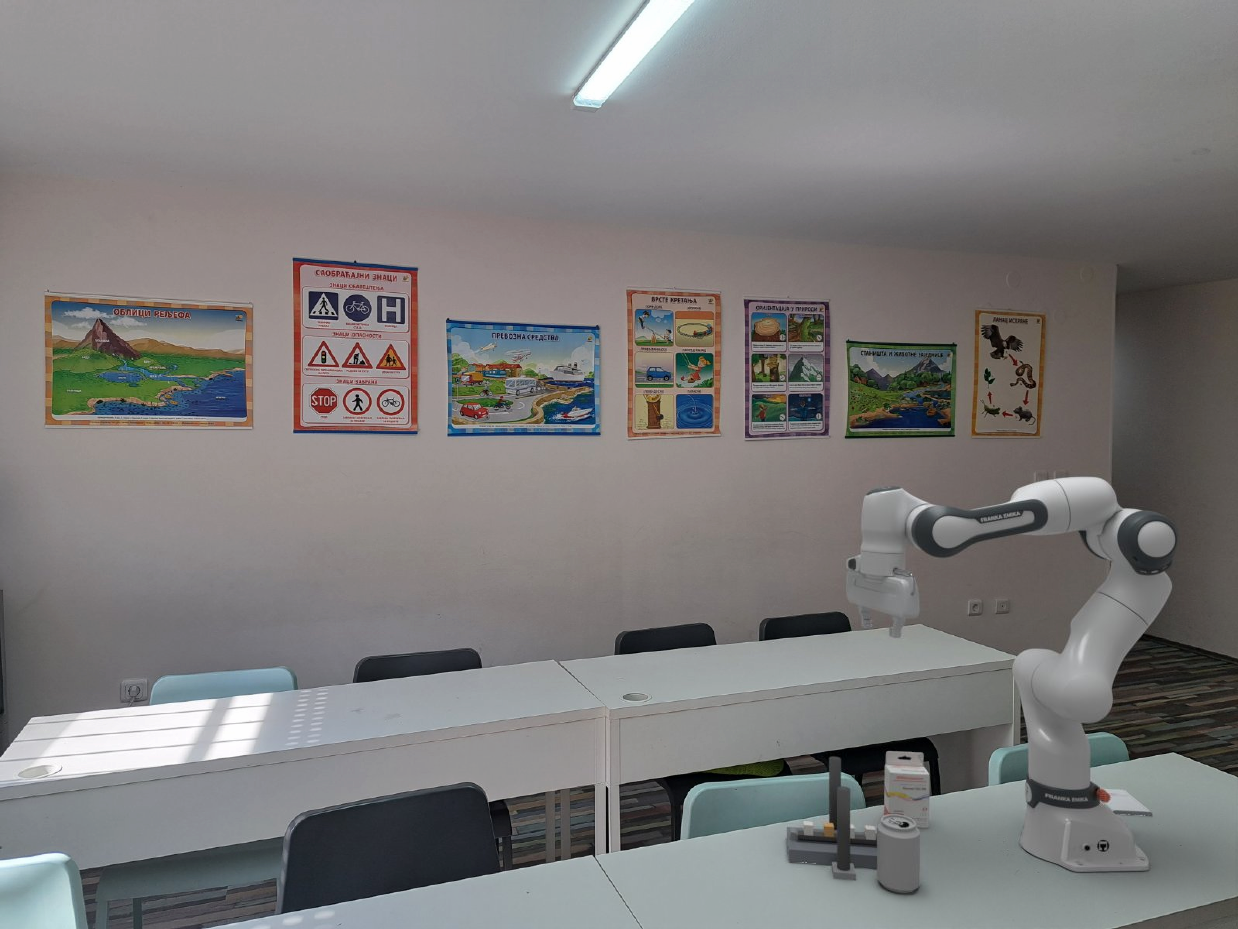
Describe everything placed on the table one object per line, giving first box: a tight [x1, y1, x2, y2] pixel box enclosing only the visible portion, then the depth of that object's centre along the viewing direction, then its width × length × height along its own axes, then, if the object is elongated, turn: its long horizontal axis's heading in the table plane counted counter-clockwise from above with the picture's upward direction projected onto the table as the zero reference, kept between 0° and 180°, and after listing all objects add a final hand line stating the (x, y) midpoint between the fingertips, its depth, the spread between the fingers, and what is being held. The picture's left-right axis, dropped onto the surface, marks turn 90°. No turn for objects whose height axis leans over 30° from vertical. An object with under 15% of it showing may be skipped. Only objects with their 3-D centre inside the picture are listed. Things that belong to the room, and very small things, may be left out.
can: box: [876, 814, 921, 894], centre depth 151 cm, size 8×8×12 cm
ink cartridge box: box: [883, 750, 931, 829], centre depth 177 cm, size 9×5×15 cm, turn 84°
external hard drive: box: [1100, 788, 1153, 817], centre depth 187 cm, size 2×8×12 cm
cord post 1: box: [828, 756, 842, 830], centre depth 171 cm, size 4×4×16 cm
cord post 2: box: [831, 785, 857, 881], centre depth 155 cm, size 4×4×16 cm
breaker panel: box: [786, 826, 877, 870], centre depth 163 cm, size 20×10×4 cm, turn 81°
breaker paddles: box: [798, 820, 877, 844], centre depth 163 cm, size 16×2×3 cm, turn 81°
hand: (880, 632), depth 168 cm, fingers open, 8 cm apart
